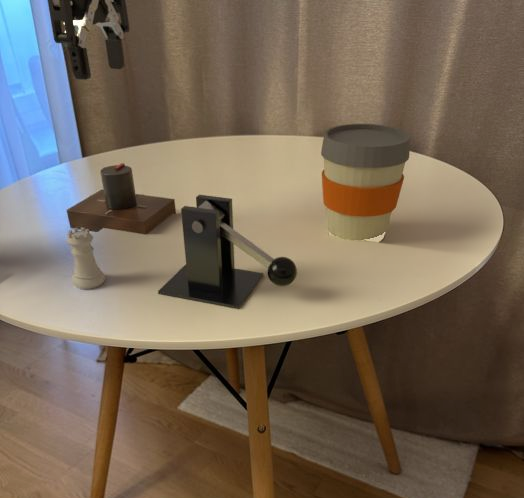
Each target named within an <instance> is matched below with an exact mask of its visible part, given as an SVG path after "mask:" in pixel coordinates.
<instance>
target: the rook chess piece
mask: <svg viewBox="0 0 524 498" xmlns="http://www.w3.org/2000/svg"><path fill="white" fill-rule="evenodd" d="M67 232H68V233H67V238H66V240H65V242H66V243H67V244H69V246H71V249H70V253H71V254H72V257H73V263H74V270H73V272H72V276H71V284H72V285H73V286H74V287H76V288H77V289H80V290H91V289H92V290H93V289H95V288H98V287H100V286H101V285H102V284H103V283H104V282H105V280H106V275H105V272H103V271H102V270H101V268H100V267H99V266H98V264H97V261H96V259H95V255H94V248H95V247H93V245H92V243H93V240H94V236H93V235H92V234H91V233H90V231H89V230H88V229H85V228H82V227H81V229H80V230H79V229H77V228H73V230H72V229H70V230H67Z"/></svg>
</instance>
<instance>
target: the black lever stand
mask: <svg viewBox="0 0 524 498" xmlns="http://www.w3.org/2000/svg"><path fill="white" fill-rule="evenodd" d="M205 201H208V202H209V203H210V204H212V205H213V206H215V207H216V208H217V209H219V210H220V211H221V212H223V213H224V214H225V215H224V217H223V219H222V221H223V222H224V223H225V224H227V225H228V226H229V227H231V228H232V229H234V216H233V212H234V211H233V199H232V198H229V197H221V196H213V195H206V194H198V195H197V196H195V203H196V207H195V206H188V205H184V206H182V207H180V213H181V214H180V215H181V224H182V235H183V246H184V247H183V248H184V255H185V264H184V265H183V266H182V267H181V268H180V269H179V270H178V271H177V272H175V274H174V275H173V276H172V277H171V278H170V279H169V280H168V281H167V282H165V284H164V285H162V286H161V287H160V289H158V291H157V294H158V295H161V296H166V297H171V298H177V299H182V300H188V301H193V302H198V303H203V304H209V305H214V306H219V307H224V308H229V309H233V310H234V309H235V310H239V309H241V307H242V306H243V304H244V303H245V302H246V300H247V299H248V298H249V296H250V295H251V294H252V292H253V291H254V290H255V288H256V287H257V286H258V284H260V282H261V280H262V279H263V278H264V276H265V275H264V272H258V271H252V270H245V269H239V268H236V267H235V266H236V265H235V244H233V243H232V242H231V241H229V240H228V239H226V238H225V237H224V236H222V235H221V234H220V222H219V211H218V210H211V209H204V208H198V207H199V206H200V205H201V204H203V203H204V202H205Z"/></svg>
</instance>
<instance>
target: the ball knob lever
mask: <svg viewBox="0 0 524 498" xmlns="http://www.w3.org/2000/svg"><path fill="white" fill-rule="evenodd" d="M198 208H204V209H211V210H218V211H219V222H220V234H221V235H222V236H224V237H225V238H226V239H228V240H229V241H231V242H232V243H233V244H234V246H236V247H237V248H239V249H240V250H241V251H243V252H244V253H246V254H247V255H248V256H250V257H251V258H253V259H254V260H255V261H256V262H258V263H260V264H261V265H263V266H264V267H265V268H266V269H267V270H266V271H267V272H266V273H267V277H268V280H269V281H270V282H271V283H272V284H273V285H274V286H276V287H281V288H283V287H288V286H290V285H291V284H293V283H294V282H295V280H296V278H297V275H298V268H297V265H296V263H295V262H294V261H293V260H292V259H291V258H289V257H287V256H278V257H275V258H273V257H272V256H271V255H269V254H268V253H267V252H266V251H264V250H263V249H261V248H260V247H258V246H257V245H256V244H254V243H253V242H252V241H250V240H249V239H247V238H246V237H245V236H244V235H242V234H240V233H239V232H238V231H237V230H235V229H234V228H233V229H232V228H231V227H229V226H228V225H227V224H225V223H224V222H223V221H222V219H223V217H224V215H225V214H224V213H223V212H221V211H220V210H219V209H217V208H216V207H215V206H213V205H212V204H210V203H209V202H208V201H205V202H204V203H203V204H201V205H200V206H199V207H198Z"/></svg>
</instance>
